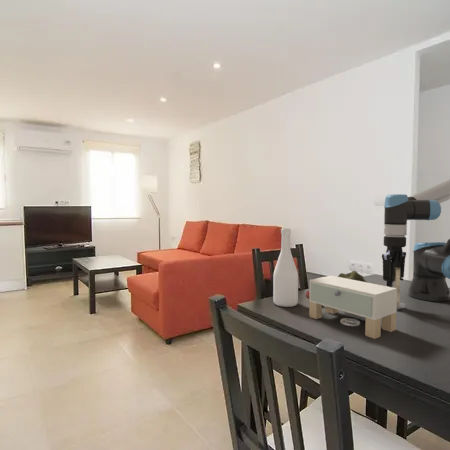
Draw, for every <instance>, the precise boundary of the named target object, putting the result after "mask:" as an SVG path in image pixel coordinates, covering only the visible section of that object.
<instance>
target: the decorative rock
mask: <svg viewBox="0 0 450 450" xmlns="http://www.w3.org/2000/svg"><path fill="white" fill-rule="evenodd" d="M337 277H341V278H347V279H352V280H357V281H362V282H367V281H366V280H365V277H364V276H363V275H362V274H359V273H358V271H356V270H353V271H351V272H347V273H342V272H341V273H340V274H338V275H337Z"/></svg>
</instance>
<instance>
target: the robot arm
mask: <svg viewBox="0 0 450 450" xmlns="http://www.w3.org/2000/svg"><path fill="white" fill-rule="evenodd" d="M447 201H450V178H449V179H447V180H445V181H443V182H440V183H437V184H436V185H434V186H431V187H428V188H426V189H424V190H421V191H419V192H417V193H415V194H413V195H410V196H408V195H407V194H402V193H400V194H398V193H397V194H395V193H393V194H387V195H386V196H385V199H384V207H383V208H384V213H383V214H384V217H383V218H384V221H383V229H384V230H383V234H384V236H383V246H384V247H386V250H385V253H382V254H381V259H382V280H383V281H385V282H386V286H387V287H393V288H395V282H393V281H394V272H395V267H398V268H400V281H404V277H405V266H406V264H405V263H406V256H407V252H406V251H403V248H405V247H406V246H407V237H406V236H407V235H408V233H407V230H408V229H407V227H408V221H435V220H437V219H438V218H439V217H440V216H441V214H442V206H441V204H442V203H444V202H447ZM412 253H413V264H412V265H413V266H412V267H413V268H412V269H413V270H412V272H413V274H412V279H411V281H410V284H409V287H408V289H407V295H408V296H410V297H412V298H414V299H418V300H422V301H429V302H446V301H447V302H448V301H450V290H449V287H448V283H447V280H446V279H448V280H450V238H448V240H447V241H445V242H444V241H442V242H440V241H438V242H437V241H435V242H430V241H429V242H428V241H427V242H416V243H414V246H413V251H412ZM400 297H401V294H400V295H399V299H400Z"/></svg>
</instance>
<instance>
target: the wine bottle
mask: <svg viewBox="0 0 450 450" xmlns="http://www.w3.org/2000/svg"><path fill="white" fill-rule="evenodd" d="M291 231H292V230H291V228H290V227H282V228H281V229H280V234H281V245H280V246H281V248H280V253H279V255H278V257H277V262H276V264H275V268H274V271H273V274H272V275H273V277H272V278H273V279H272V280H273V285H272V286H273V287H272V288H273V289H272V290H273V294H272V296H273V304H274V305H276V306H278V307H282V308H290V307H295V306H297V305H298V302H299V272H298V269H297V267H296V264H295V260H294V257H293V255H292V251H291Z"/></svg>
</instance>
